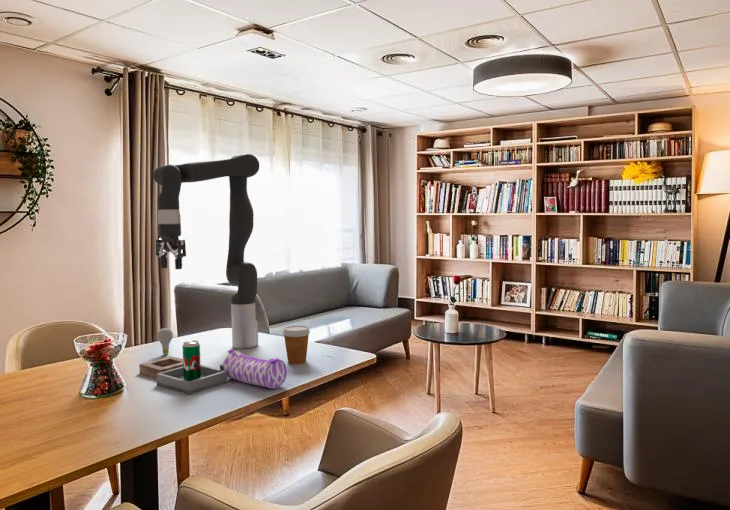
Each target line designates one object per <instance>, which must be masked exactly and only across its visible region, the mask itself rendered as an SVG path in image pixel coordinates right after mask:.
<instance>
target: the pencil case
mask: <svg viewBox="0 0 730 510" xmlns="http://www.w3.org/2000/svg"><path fill="white" fill-rule="evenodd" d="M227 353H228V355H227V356H226V357H225V358H224V360H223V362H222V364H219V369H221V370H225V371H227V378H228V379H231V380H236V381H239V382H241V383H244V384H249V385H254V386H259V387H264V388H268V389H272V390H273V389H275V390H276V389H278V388H280V387H281V385H283V384H284V383H285V381H286V378H287V373H288V369H287V366H286V363H285V361H284V360H282V359H280V358H279V357H276V358H270V359H263V358H259V357H254V356H249V355H246V354H243V352H241V351H239V350H235V348H232V349H229V350H227Z"/></svg>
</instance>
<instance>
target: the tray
mask: <svg viewBox="0 0 730 510" xmlns="http://www.w3.org/2000/svg"><path fill="white" fill-rule="evenodd" d="M200 365H201V378H199V379H196V380H193V381H186V380H184V373H183V367H179V368H176V369H172V370H168V371H165V372H161V373H158V374H156V375H157V378H156V386H159V387H162V388H166V389H169V390H172V391H174V392H178V393H182V394H186V395H189V396H190V395H192V394H193V395H194V394H196V393H200V392H202V391H205V390H208V389H211V388H214V387H217V386H220V385H223V384H226V383H229V381H228V379H229V378H228V377H227V371H225V370H221V369H220V368H217V367H213V366H212V367H211V366H208V365H205V364H204V365H203V364H200Z"/></svg>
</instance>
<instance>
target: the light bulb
mask: <svg viewBox="0 0 730 510" xmlns="http://www.w3.org/2000/svg"><path fill="white" fill-rule="evenodd" d="M156 336H157V340H158V342H159V343H160V344H161V347H162V348H161V349H162V354H163V355H165V356H167V355H168V354H169V353H170V352H169V349H170V344H171V341H172V340H173V337H174V333H173V331H172V330H171V329H170V328H168V327H164V328H161V329H159V331H158V332H157V335H156Z"/></svg>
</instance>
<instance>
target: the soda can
mask: <svg viewBox="0 0 730 510" xmlns="http://www.w3.org/2000/svg"><path fill="white" fill-rule="evenodd" d="M200 346H201V344H200V343H199V341H198V340H186V341H184V342H183V344H182V346H181V347H182V359H183V373H184V380H186V381H193V380H196V379H199V378H201V365H202V364H201V347H200Z"/></svg>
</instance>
